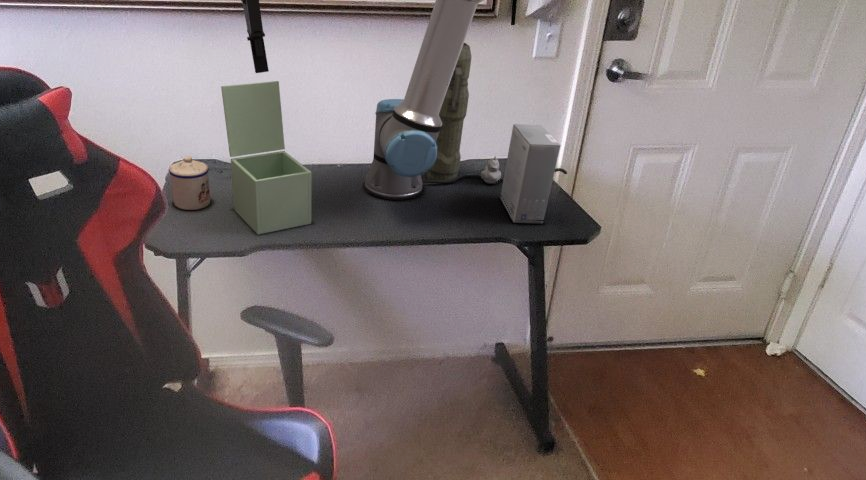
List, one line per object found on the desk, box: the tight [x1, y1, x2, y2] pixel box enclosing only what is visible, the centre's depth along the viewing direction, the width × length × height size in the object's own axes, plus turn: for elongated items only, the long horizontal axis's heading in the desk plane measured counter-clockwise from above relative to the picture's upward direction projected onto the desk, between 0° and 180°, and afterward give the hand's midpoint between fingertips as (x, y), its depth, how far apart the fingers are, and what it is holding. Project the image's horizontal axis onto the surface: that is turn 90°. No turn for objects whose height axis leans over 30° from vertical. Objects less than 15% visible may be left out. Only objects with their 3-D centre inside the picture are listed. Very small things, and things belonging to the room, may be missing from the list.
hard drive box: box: [499, 123, 562, 224], centre depth 163 cm, size 16×8×20 cm, turn 4°
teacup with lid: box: [168, 155, 211, 211], centre depth 160 cm, size 12×9×12 cm
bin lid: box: [220, 80, 286, 158], centre depth 153 cm, size 15×14×1 cm
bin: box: [230, 150, 313, 235], centre depth 155 cm, size 15×14×13 cm
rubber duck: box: [480, 155, 502, 185], centre depth 181 cm, size 5×7×8 cm
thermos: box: [426, 42, 472, 180], centre depth 175 cm, size 9×12×35 cm
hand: (261, 71), depth 140 cm, fingers closed
